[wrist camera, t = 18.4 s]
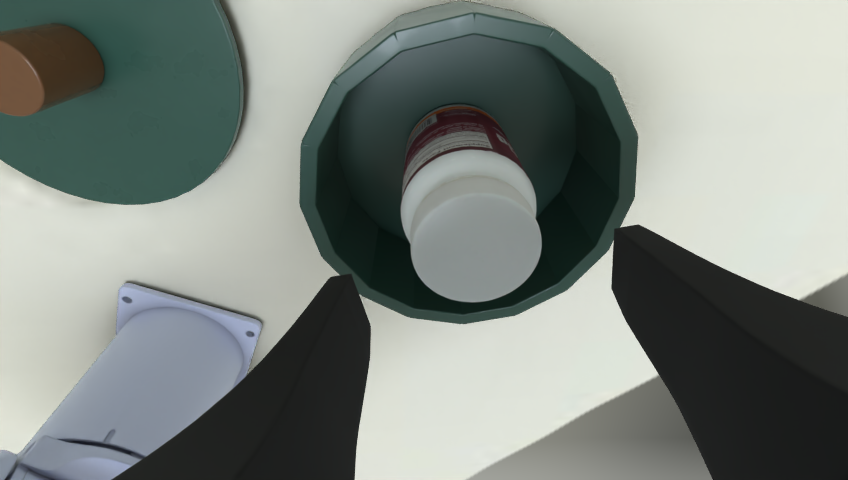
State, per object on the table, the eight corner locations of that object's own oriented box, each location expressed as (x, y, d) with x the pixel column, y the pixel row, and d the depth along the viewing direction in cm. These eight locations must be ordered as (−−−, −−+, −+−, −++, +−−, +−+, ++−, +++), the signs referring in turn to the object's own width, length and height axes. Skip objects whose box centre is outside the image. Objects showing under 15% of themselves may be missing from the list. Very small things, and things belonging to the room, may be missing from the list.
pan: (587, 230, 23) (629, 296, 18) (369, 270, 24) (357, 342, 20) (583, -32, 16) (648, -32, 12) (286, 42, 18) (240, 69, 13)
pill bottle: (513, 185, 21) (562, 296, 14) (419, 206, 22) (420, 324, 14) (498, 88, 18) (548, 164, 11) (393, 115, 19) (378, 204, 12)
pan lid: (294, 165, 21) (267, 209, 17) (54, 217, 22) (-20, 268, 18) (140, -209, 14) (35, -274, 10) (-195, -97, 15) (-399, -119, 11)
